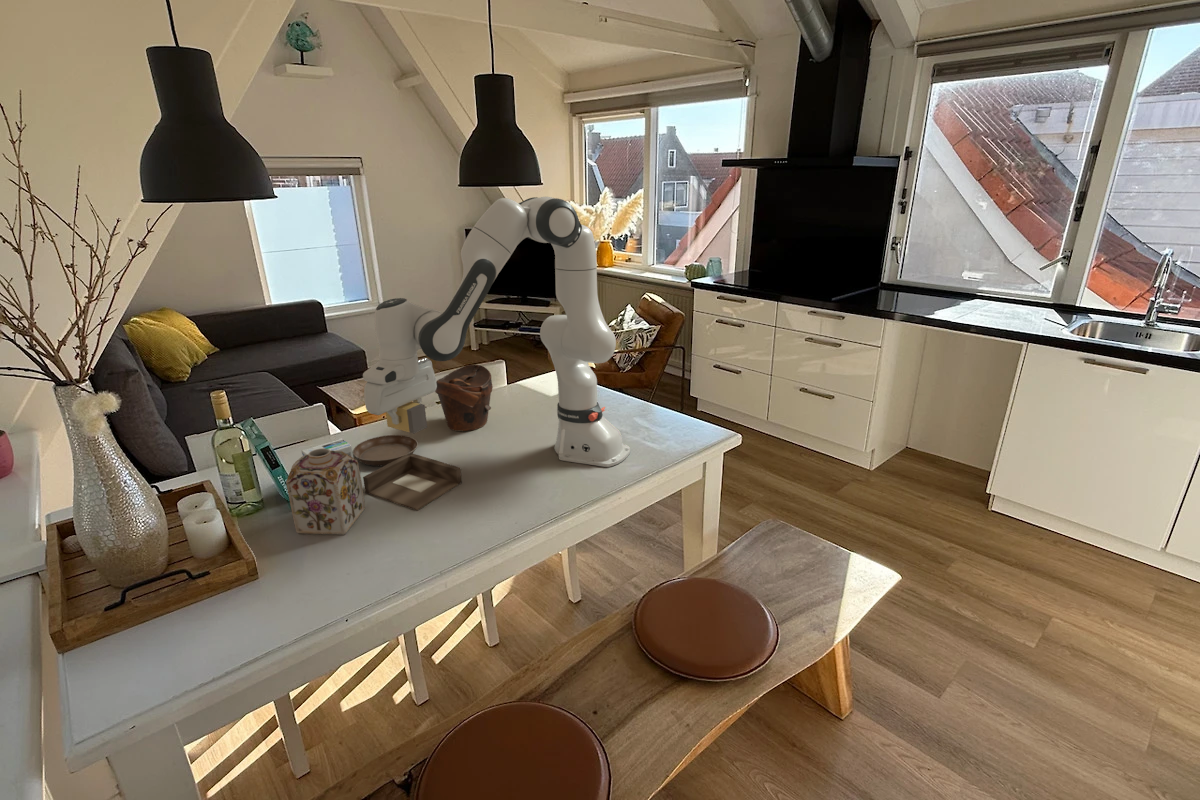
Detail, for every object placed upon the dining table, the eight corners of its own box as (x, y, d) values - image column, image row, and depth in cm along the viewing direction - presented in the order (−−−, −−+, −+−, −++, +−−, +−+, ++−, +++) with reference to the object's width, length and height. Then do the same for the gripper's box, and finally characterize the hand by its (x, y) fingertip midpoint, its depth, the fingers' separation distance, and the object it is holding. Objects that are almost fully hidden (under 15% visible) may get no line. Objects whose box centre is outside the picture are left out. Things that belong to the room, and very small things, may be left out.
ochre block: (401, 420, 155) (398, 398, 153) (427, 427, 151) (424, 404, 149) (387, 426, 151) (384, 404, 149) (413, 433, 147) (411, 410, 145)
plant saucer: (386, 439, 185) (385, 430, 183) (431, 450, 177) (430, 440, 176) (340, 462, 170) (338, 452, 169) (387, 475, 162) (386, 465, 161)
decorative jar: (294, 534, 136) (279, 463, 129) (319, 507, 147) (306, 440, 140) (346, 536, 135) (333, 464, 129) (367, 508, 146) (357, 441, 140)
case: (437, 439, 184) (433, 383, 177) (438, 415, 202) (434, 364, 196) (496, 434, 188) (494, 380, 181) (492, 411, 206) (489, 361, 200)
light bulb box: (348, 473, 163) (341, 437, 159) (358, 481, 159) (352, 444, 155) (307, 486, 156) (300, 449, 152) (317, 496, 152) (310, 457, 148)
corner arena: (461, 482, 158) (460, 467, 156) (417, 510, 145) (415, 494, 143) (412, 467, 166) (410, 452, 165) (365, 492, 153) (362, 477, 152)
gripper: (421, 354, 155) (426, 403, 160) (356, 376, 139) (365, 430, 144) (439, 357, 152) (444, 408, 157) (375, 380, 136) (383, 436, 141)
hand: (406, 419), depth 150 cm, fingers closed on ochre block, 4 cm apart
